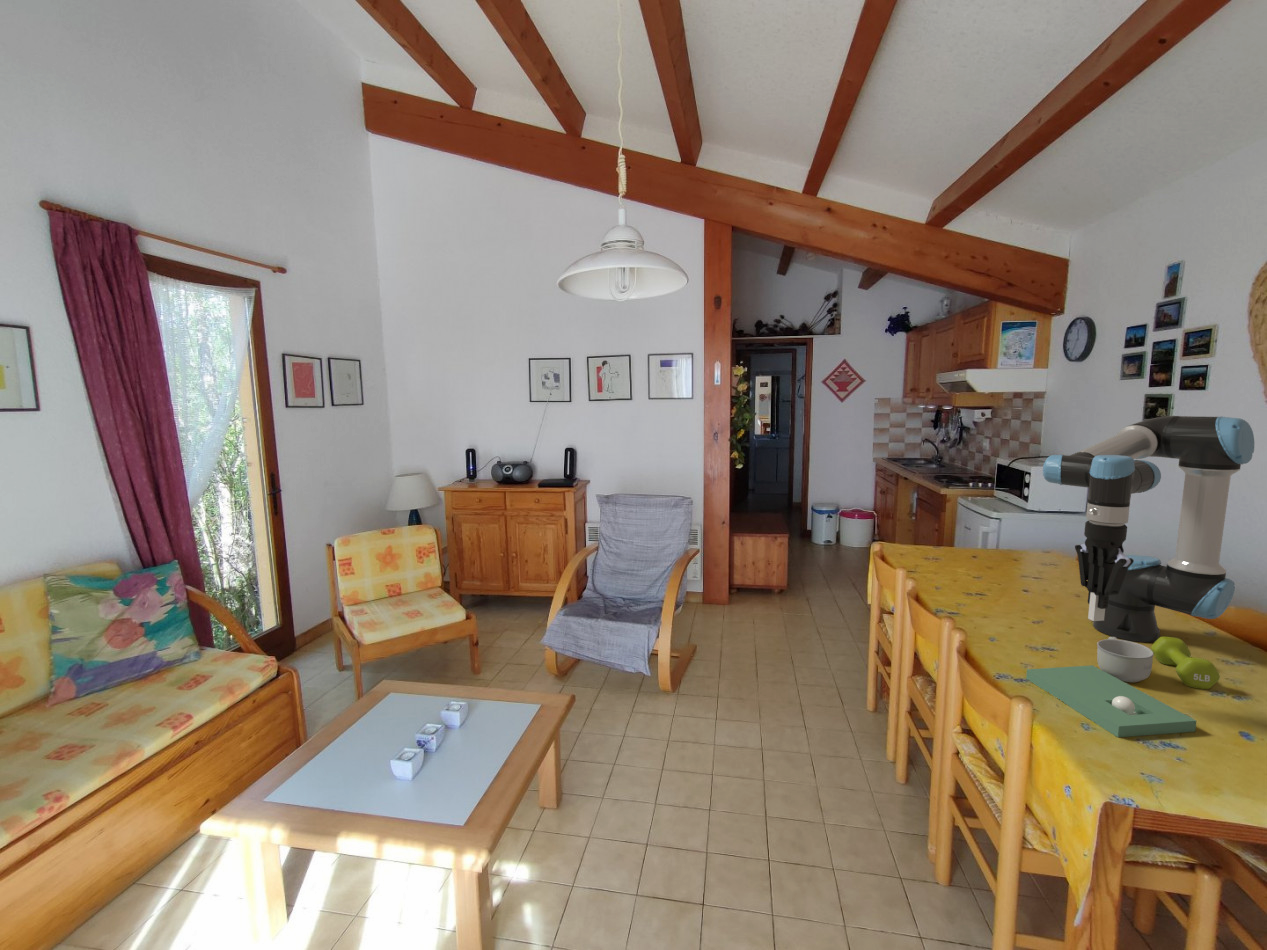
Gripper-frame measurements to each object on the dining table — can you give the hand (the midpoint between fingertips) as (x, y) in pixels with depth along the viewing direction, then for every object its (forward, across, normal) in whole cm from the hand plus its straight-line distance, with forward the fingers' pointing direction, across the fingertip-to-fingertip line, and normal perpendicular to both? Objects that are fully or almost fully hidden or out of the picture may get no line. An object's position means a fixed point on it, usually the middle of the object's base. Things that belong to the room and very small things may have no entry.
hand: (1095, 619), depth 136 cm
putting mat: (+18, +5, -1) cm, 19 cm away
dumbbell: (+19, -5, +31) cm, 37 cm away
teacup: (+19, -7, +16) cm, 26 cm away
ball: (+16, +10, -1) cm, 19 cm away
